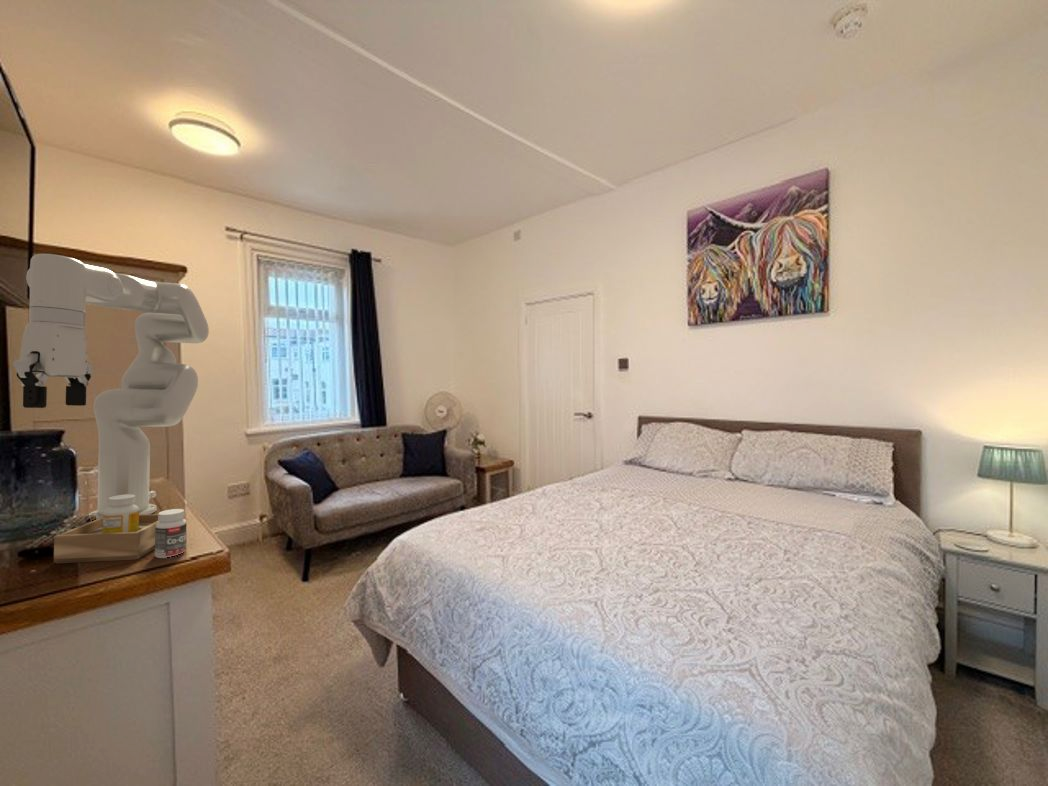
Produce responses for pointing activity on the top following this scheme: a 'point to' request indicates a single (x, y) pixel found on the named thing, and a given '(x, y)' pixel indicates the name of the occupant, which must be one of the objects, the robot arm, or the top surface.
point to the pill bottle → (170, 533)
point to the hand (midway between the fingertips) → (56, 406)
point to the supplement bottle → (121, 515)
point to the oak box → (105, 542)
